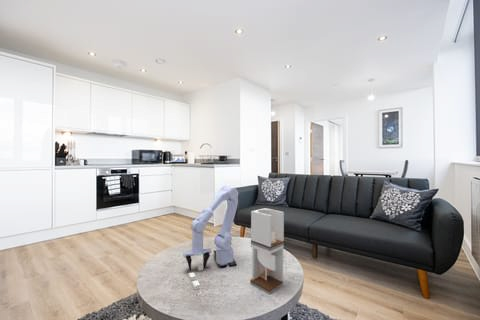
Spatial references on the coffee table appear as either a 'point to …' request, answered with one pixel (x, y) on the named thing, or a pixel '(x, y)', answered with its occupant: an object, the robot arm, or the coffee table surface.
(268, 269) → the white wooden shelf tower
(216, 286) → the coffee table surface
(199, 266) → the switch
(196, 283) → the switch
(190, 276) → the switch
